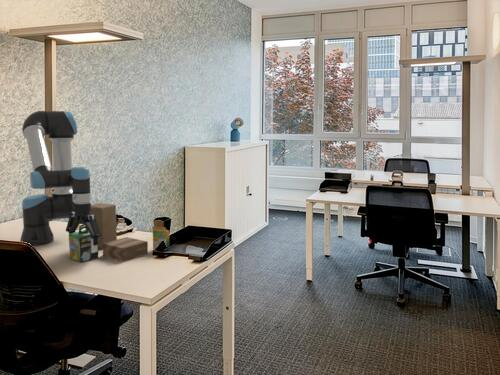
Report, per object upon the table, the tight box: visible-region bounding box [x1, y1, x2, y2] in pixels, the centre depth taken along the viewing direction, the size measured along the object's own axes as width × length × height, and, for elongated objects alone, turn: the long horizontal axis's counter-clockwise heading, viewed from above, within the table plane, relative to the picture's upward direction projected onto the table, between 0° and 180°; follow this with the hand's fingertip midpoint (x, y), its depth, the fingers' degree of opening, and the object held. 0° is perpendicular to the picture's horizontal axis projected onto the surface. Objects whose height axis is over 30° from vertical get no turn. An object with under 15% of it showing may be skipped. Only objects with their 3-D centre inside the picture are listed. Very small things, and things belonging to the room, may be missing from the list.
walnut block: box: [102, 236, 149, 262], centre depth 208 cm, size 14×14×6 cm
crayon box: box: [152, 226, 170, 251], centre depth 215 cm, size 7×3×12 cm, turn 70°
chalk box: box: [68, 225, 99, 263], centre depth 201 cm, size 9×9×15 cm
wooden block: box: [89, 202, 118, 250], centre depth 221 cm, size 10×10×20 cm
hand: (83, 250), depth 202 cm, fingers open, 13 cm apart
